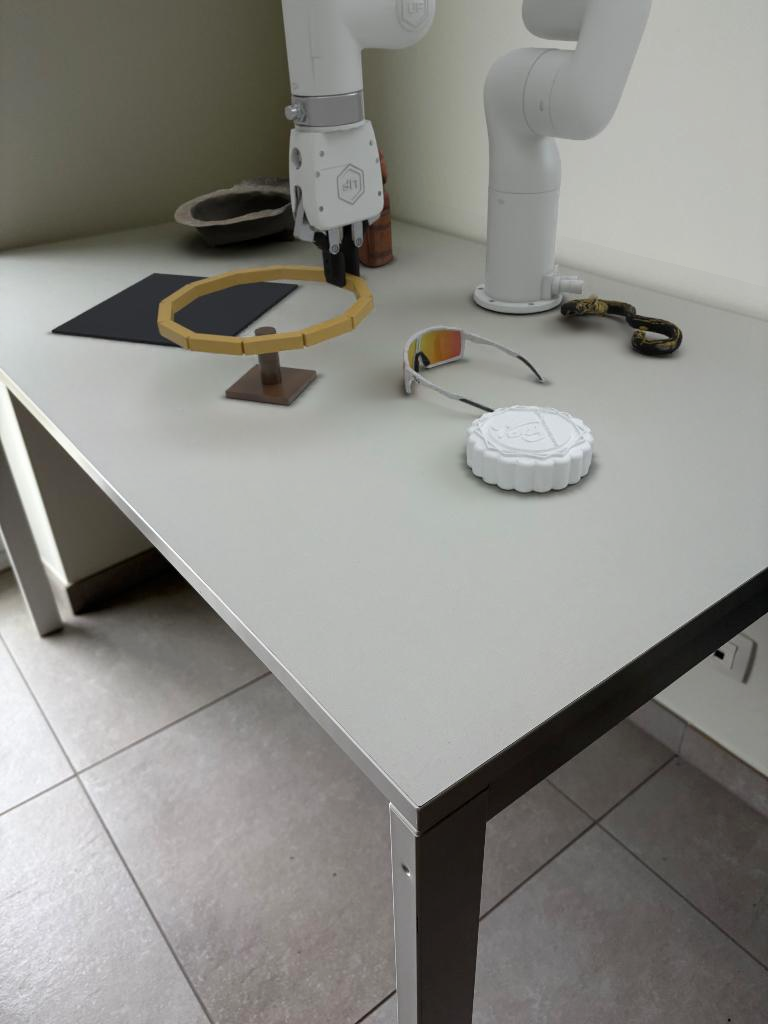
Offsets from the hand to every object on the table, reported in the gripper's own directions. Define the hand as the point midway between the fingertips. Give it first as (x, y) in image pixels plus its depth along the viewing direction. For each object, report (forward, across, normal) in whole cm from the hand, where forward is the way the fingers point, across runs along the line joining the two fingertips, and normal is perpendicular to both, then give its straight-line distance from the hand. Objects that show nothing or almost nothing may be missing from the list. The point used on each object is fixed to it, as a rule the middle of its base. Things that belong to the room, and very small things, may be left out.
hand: (343, 281), depth 95 cm
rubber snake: (+11, +29, -19) cm, 36 cm away
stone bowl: (+10, +21, +56) cm, 61 cm away
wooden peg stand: (+10, -12, 0) cm, 15 cm away
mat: (+10, -6, +32) cm, 34 cm away
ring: (+1, -11, 0) cm, 11 cm away
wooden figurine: (+11, +29, +31) cm, 44 cm away
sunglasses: (+10, +5, -16) cm, 20 cm away
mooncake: (+10, -4, -32) cm, 34 cm away
